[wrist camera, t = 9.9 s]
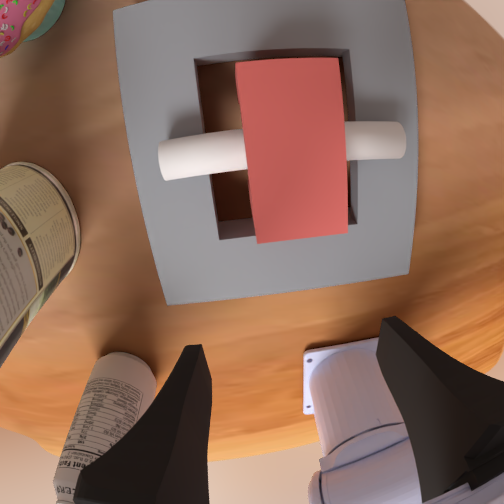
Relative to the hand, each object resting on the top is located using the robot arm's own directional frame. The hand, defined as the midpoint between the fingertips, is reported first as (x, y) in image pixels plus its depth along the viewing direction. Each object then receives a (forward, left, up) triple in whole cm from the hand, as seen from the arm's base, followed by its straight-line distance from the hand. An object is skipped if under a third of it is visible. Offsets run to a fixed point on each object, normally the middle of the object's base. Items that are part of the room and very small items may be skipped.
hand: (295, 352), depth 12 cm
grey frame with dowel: (+7, -1, -10) cm, 12 cm away
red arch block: (+7, -1, -9) cm, 12 cm away
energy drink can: (-11, +14, -11) cm, 21 cm away
